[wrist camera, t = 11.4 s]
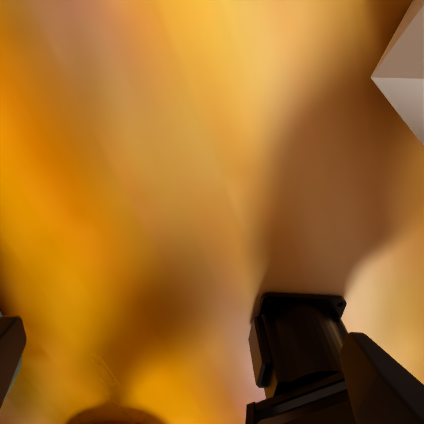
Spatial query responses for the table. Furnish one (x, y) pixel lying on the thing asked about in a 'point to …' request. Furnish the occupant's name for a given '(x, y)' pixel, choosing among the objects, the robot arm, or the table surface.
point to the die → (405, 70)
